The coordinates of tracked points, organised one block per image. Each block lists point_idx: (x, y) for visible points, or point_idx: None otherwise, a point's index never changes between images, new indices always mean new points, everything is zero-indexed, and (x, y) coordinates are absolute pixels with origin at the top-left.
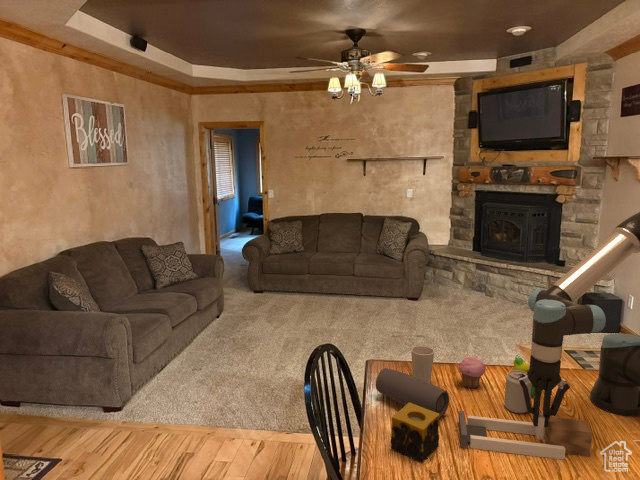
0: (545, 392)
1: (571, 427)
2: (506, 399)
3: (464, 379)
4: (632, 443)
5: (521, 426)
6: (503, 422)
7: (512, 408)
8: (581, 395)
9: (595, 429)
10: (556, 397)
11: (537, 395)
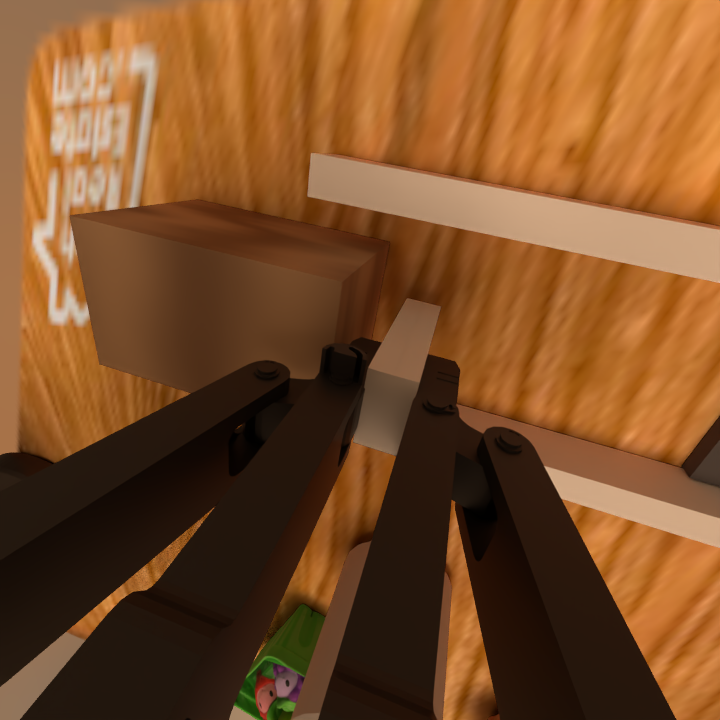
0: (229, 671)
1: (192, 286)
2: (448, 625)
3: None
4: (27, 302)
5: None
6: (587, 476)
7: None
8: (146, 570)
9: (137, 400)
10: (118, 531)
11: (409, 648)
